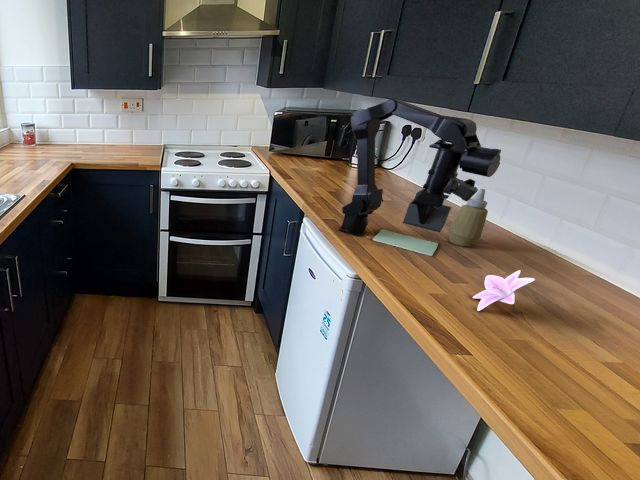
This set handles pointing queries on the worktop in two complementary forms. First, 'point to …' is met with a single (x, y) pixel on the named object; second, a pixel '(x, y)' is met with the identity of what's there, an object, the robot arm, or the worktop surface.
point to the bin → (434, 220)
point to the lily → (501, 289)
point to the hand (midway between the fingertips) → (424, 220)
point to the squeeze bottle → (469, 221)
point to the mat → (406, 242)
